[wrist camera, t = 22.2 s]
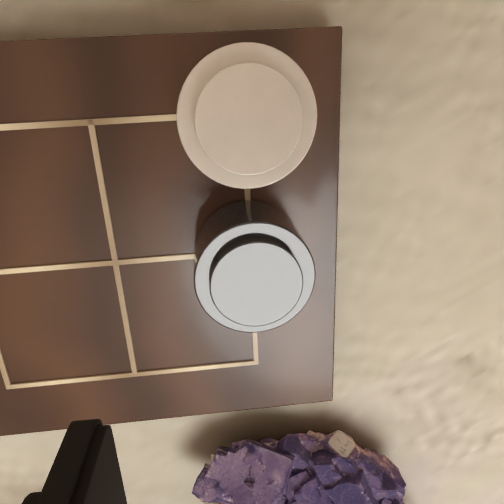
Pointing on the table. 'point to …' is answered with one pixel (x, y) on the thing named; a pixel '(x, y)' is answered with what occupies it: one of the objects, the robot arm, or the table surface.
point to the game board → (143, 236)
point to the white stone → (246, 115)
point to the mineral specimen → (300, 472)
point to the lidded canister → (252, 267)
